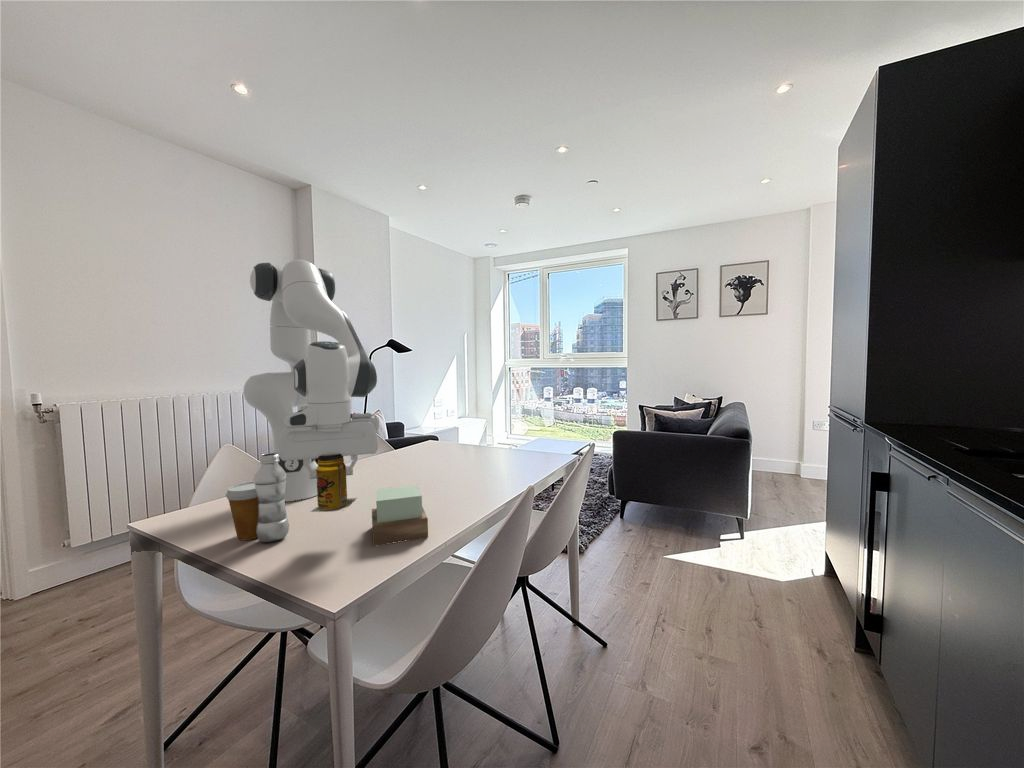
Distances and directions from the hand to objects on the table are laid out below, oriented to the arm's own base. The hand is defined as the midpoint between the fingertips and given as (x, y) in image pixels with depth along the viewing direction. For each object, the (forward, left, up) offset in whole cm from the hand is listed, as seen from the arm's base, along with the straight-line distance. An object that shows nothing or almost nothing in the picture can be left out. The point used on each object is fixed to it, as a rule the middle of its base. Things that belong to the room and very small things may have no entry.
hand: (331, 476), depth 93 cm
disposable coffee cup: (-14, -19, -16) cm, 28 cm away
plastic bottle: (-9, -14, -16) cm, 23 cm away
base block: (-2, +14, -16) cm, 21 cm away
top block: (-2, +14, -11) cm, 18 cm away
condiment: (0, 0, -7) cm, 7 cm away
